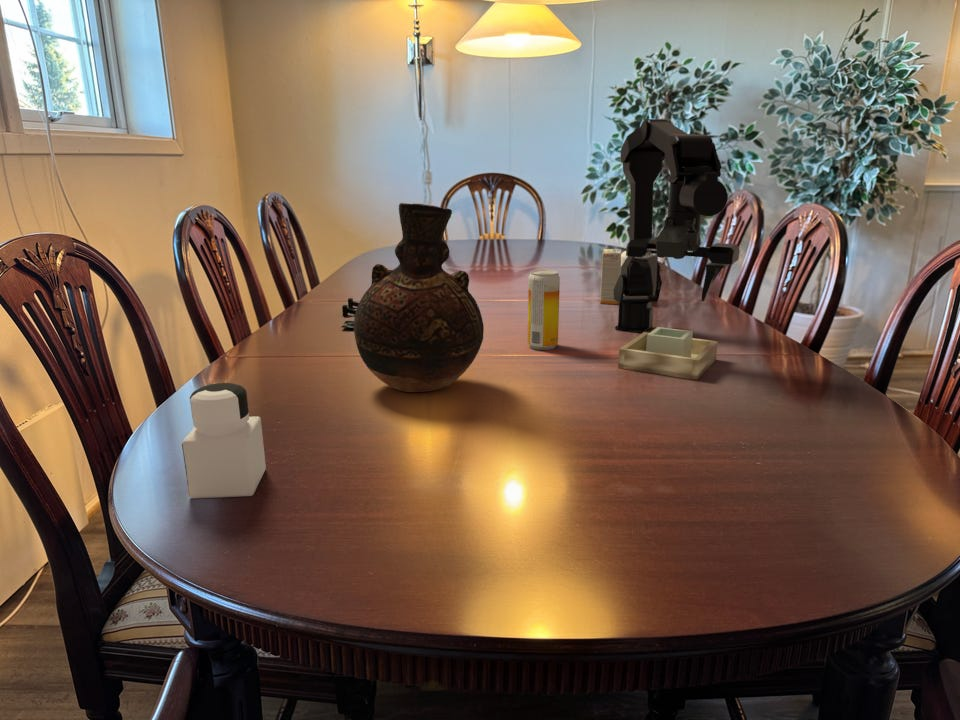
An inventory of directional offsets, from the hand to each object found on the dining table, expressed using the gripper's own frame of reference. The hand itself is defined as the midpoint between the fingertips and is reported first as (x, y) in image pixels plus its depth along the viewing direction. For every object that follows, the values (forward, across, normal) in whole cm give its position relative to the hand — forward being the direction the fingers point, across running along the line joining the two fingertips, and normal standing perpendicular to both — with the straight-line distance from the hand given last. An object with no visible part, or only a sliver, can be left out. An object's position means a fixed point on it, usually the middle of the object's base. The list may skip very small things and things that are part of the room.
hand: (677, 298), depth 124 cm
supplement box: (+13, -29, +44) cm, 54 cm away
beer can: (+12, -25, -4) cm, 28 cm away
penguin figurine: (+13, -39, +77) cm, 87 cm away
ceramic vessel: (+12, -32, -36) cm, 49 cm away
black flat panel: (+13, -72, 0) cm, 73 cm away
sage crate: (+11, 0, -3) cm, 11 cm away
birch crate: (+12, 0, -3) cm, 12 cm away
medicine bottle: (+12, -30, -76) cm, 83 cm away
